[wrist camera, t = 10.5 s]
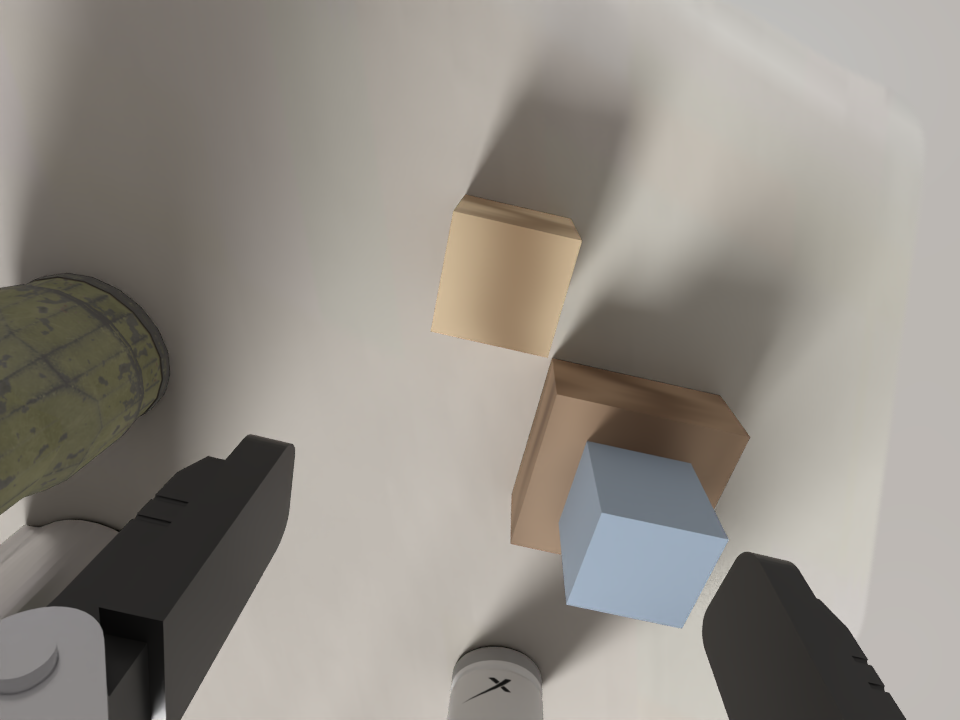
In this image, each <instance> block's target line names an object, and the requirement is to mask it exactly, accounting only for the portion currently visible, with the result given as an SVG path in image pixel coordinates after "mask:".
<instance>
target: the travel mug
mask: <svg viewBox="0 0 960 720" xmlns="http://www.w3.org/2000/svg"><path fill="white" fill-rule="evenodd" d="M447 720H543V701H542V677H541V673H540V671H539V669H538V667H537V666H536V664H535V663H534V662H533V661H532V660H531V659H530V658H528V657H527V656H526V655H524V654H522V653H520V652H518V651H515V650H512V649H509V648H504V647H483V648H479V649H475V650H473V651H471V652H469V653H467V654H465V655H464V656H463V657H462V658H461V659H460V660H459V661H458V662H457V663H456V665H455V667H454V670H453V675H452V684H451V694H450V700H449V708H448V716H447Z"/></svg>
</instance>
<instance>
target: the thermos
mask: <svg viewBox="0 0 960 720" xmlns="http://www.w3.org/2000/svg"><path fill="white" fill-rule="evenodd" d="M169 376H170V371H169V359H168V352H167V349H166V347H165V345H164V342H163V340H162V337H161V335H160V333H159V330H158V329H157V327H156V326H155V325H154V324H153V322H152V321H151V320H150V318H149V317H148V316H147V314H146V313H145V312H144V311H143V309H142V308H141V307H140V306H139V305H137V304H136V303H135V302H134V301H132V300H131V299H130V298H129V297H127V296H126V295H125V294H124V293H122V292H121V291H120V290H118V289H116V288H114V287H112V286H110V285H108V284H106V283H104V282H101V281H99V280H97V279H95V278H92V277H87V276H81V275H75V274H69V273H65V274H58V275H51V276H45V277H41V278H38V279H35V280H33V281H32V282H30V283H28V284H25V285H24V284H23V285H16V286H9V287H2V288H0V515H1V514H2V513H4V512H5V511H6V510H7V509H9V508H10V507H11V506H13V505H14V504H15V503H17V502H18V501H19V500H21V499H22V498H24V497H26V496H29V495H32V494H35V493H38V492H41V491H44V490H46V489H48V488H51V487H53V486H55V485H57V484H59V483H61V482H63V481H65V480H67V479H68V478H70V477H71V476H72V475H74V474H75V473H76V472H77V471H79V470H80V469H81V468H82V467H84V466H85V465H86V464H87V463H89V462H90V461H91V460H92V459H94V458H95V457H96V456H97V455H99V454H100V453H101V452H102V451H104V450H105V449H106V448H107V447H109V446H110V445H111V444H112V443H114V442H115V441H116V440H117V439H119V438H120V437H121V436H122V435H124V434H125V432H126V431H127V430H128V429H129V428H130V426H131V425H132V424H133V423H134V422H135V420H136V419H137V418H138V417H139V416H141V415H143V414H145V413H147V412H148V411H149V410H150V409H152V408H153V407H154V405H155V404H156V403H157V402H158V401H159V399H160V398H161V397H162V396H163V395H164V393H165V390H166V386H167V383H168V380H169Z"/></svg>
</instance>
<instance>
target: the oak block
mask: <svg viewBox="0 0 960 720" xmlns="http://www.w3.org/2000/svg"><path fill="white" fill-rule="evenodd" d="M581 242H582V240H581V238H580V236H579V234H578V232H577V230H576V228H575V226H574V224H573V222H572V220H571V219H569V218H565V217H561V216H556V215H552V214H548V213H544V212H539V211H535V210H531V209H526V208H522V207H518V206H513V205H509V204H505V203H500V202H496V201H492V200H487V199H483V198H479V197H474V196H470V195H466V194H465V196H464V197H463V198H462V200H461V201H460V203H459V204H458V205H457V207H456V208H455V209H454V211H453V215H452V221H451V226H450V231H449V237H448V242H447V247H446V253H445V258H444V263H443V269H442V274H441V279H440V285H439V290H438V295H437V300H436V306H435V311H434V316H433V322H432V327H431V332H435V333H440V334H444V335H449V336H453V337H458V338H462V339H466V340H471V341H475V342H480V343H484V344H489V345H493V346H498V347H502V348H507V349H511V350H515V351H520V352H524V353H529V354H533V355H538V356H542V357H547V358H548V355H549V351H550V348H551V345H552V341H553V338H554V334H555V331H556V327H557V324H558V321H559V317H560V314H561V310H562V307H563V304H564V300H565V297H566V293H567V290H568V287H569V283H570V280H571V276H572V273H573V270H574V266H575V263H576V259H577V256H578V253H579V249H580V246H581Z"/></svg>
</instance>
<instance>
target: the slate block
mask: <svg viewBox="0 0 960 720" xmlns="http://www.w3.org/2000/svg"><path fill="white" fill-rule="evenodd" d="M559 533H560V543H561V554H562V564H563V575H564V585H565V596H566V605H571V606H575V607H580V608H585V609H590V610H595V611H600V612H604V613H609V614H614V615H619V616H624V617H628V618H633V619H638V620H643V621H648V622H652V623H657V624H662V625H667V626H672V627H677V628H681V629H682V628H683V626H684V624H685V622H686V620H687V618H688V616H689V614H690V612H691V610H692V609H693V607H694V605H695V603H696V601H697V599H698V597H699V595H700V593H701V591H702V589H703V588H704V586H705V584H706V582H707V580H708V578H709V576H710V574H711V572H712V570H713V569H714V567H715V565H716V563H717V561H718V559H719V557H720V555H721V553H722V551H723V550H724V548H725V546H726V544H727V542H728V540H729V539H728V537H727V535H726V533H725V531H724V529H723V527H722V525H721V523H720V521H719V519H718V517H717V515H716V513H715V511H714V509H713V507H712V505H711V503H710V501H709V499H708V497H707V495H706V493H705V491H704V489H703V487H702V485H701V483H700V481H699V479H698V477H697V475H696V473H695V471H694V469H693V467H692V465H691V463H687V462H682V461H678V460H673V459H668V458H664V457H659V456H654V455H650V454H645V453H640V452H636V451H631V450H626V449H622V448H617V447H613V446H608V445H603V444H599V443H594V442H589V441H587V442H586V445H585V448H584V451H583V454H582V457H581V459H580V462H579V465H578V468H577V471H576V474H575V477H574V480H573V483H572V485H571V488H570V491H569V494H568V497H567V500H566V503H565V506H564V509H563V512H562V514H561V517H560V520H559Z"/></svg>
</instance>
